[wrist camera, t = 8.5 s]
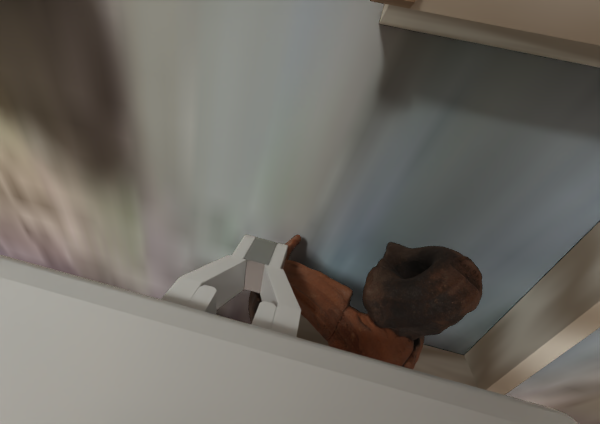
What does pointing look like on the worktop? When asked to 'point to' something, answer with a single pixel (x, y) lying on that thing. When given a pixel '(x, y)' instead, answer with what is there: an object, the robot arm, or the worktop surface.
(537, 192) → the worktop surface
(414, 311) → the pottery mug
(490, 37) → the wooden u-shaped frame
